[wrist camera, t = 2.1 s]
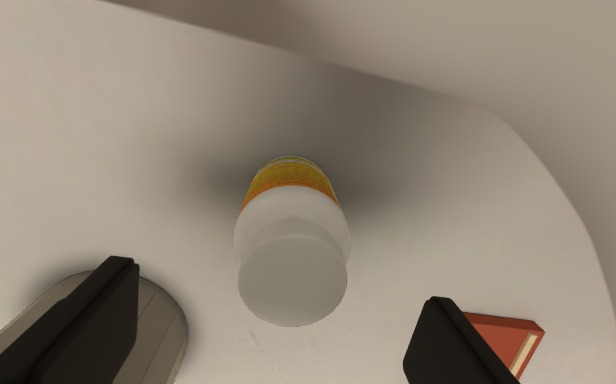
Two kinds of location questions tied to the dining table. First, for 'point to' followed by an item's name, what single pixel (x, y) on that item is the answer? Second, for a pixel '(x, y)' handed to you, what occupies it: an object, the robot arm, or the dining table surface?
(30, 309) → the pot
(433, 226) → the dining table surface
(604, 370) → the dining table surface
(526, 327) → the book
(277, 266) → the supplement bottle
